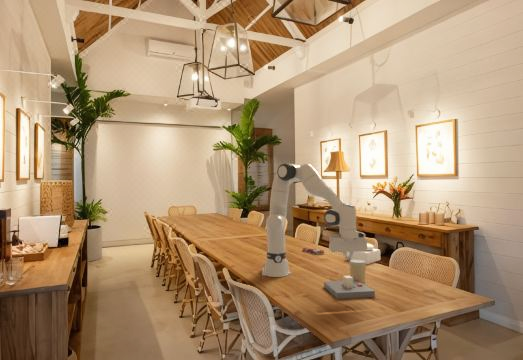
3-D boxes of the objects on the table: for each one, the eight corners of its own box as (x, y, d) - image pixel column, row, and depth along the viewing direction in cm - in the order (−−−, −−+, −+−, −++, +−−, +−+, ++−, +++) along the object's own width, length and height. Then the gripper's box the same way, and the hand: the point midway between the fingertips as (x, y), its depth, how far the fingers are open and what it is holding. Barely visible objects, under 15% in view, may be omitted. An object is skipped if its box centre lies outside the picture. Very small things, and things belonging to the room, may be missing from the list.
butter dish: (367, 265, 243) (367, 242, 243) (345, 261, 256) (345, 239, 256) (380, 261, 255) (380, 240, 255) (359, 257, 268) (358, 237, 268)
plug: (341, 289, 189) (341, 274, 189) (347, 289, 190) (347, 274, 190) (346, 293, 183) (346, 278, 183) (353, 293, 183) (353, 277, 183)
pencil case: (314, 257, 269) (314, 251, 269) (300, 253, 286) (300, 247, 287) (326, 256, 274) (326, 250, 274) (311, 251, 292) (311, 245, 292)
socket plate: (324, 287, 193) (324, 280, 194) (358, 285, 197) (358, 278, 197) (337, 299, 174) (337, 291, 174) (374, 296, 177) (374, 289, 177)
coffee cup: (367, 280, 206) (367, 260, 206) (363, 284, 197) (363, 263, 198) (352, 278, 210) (352, 258, 210) (347, 282, 202) (347, 261, 202)
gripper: (331, 235, 181) (331, 262, 180) (368, 234, 184) (368, 260, 184) (327, 233, 187) (327, 259, 187) (363, 232, 190) (363, 257, 190)
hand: (348, 259), depth 185 cm, fingers closed
